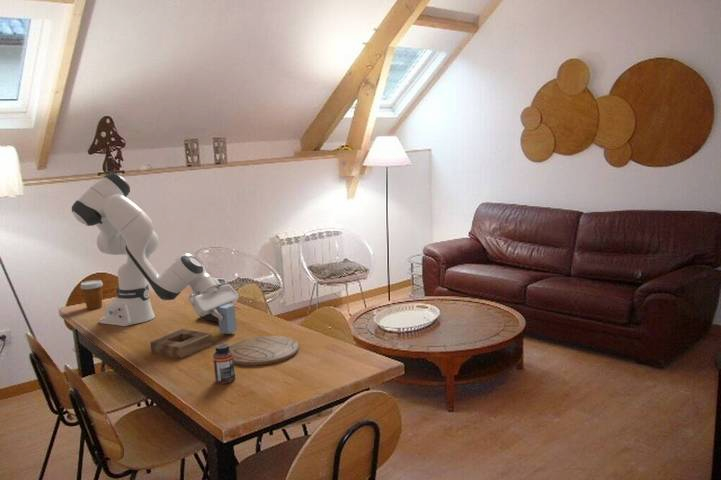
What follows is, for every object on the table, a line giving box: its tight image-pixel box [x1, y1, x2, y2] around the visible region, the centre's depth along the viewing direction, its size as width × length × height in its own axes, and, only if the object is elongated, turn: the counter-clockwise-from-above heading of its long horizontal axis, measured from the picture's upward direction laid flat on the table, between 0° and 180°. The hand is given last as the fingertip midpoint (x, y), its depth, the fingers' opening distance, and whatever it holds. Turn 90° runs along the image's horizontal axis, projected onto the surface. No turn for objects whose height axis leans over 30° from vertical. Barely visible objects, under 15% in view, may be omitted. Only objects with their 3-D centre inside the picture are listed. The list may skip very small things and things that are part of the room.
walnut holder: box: [149, 328, 214, 360], centre depth 211 cm, size 15×15×4 cm
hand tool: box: [199, 313, 219, 323], centre depth 242 cm, size 19×4×5 cm, turn 49°
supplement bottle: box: [212, 343, 236, 385], centre depth 181 cm, size 6×6×11 cm
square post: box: [217, 304, 238, 335], centre depth 224 cm, size 4×4×10 cm
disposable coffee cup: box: [79, 279, 104, 311], centre depth 270 cm, size 10×10×12 cm
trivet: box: [229, 335, 300, 367], centre depth 204 cm, size 25×25×2 cm
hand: (228, 316), depth 223 cm, fingers closed on square post, 4 cm apart
